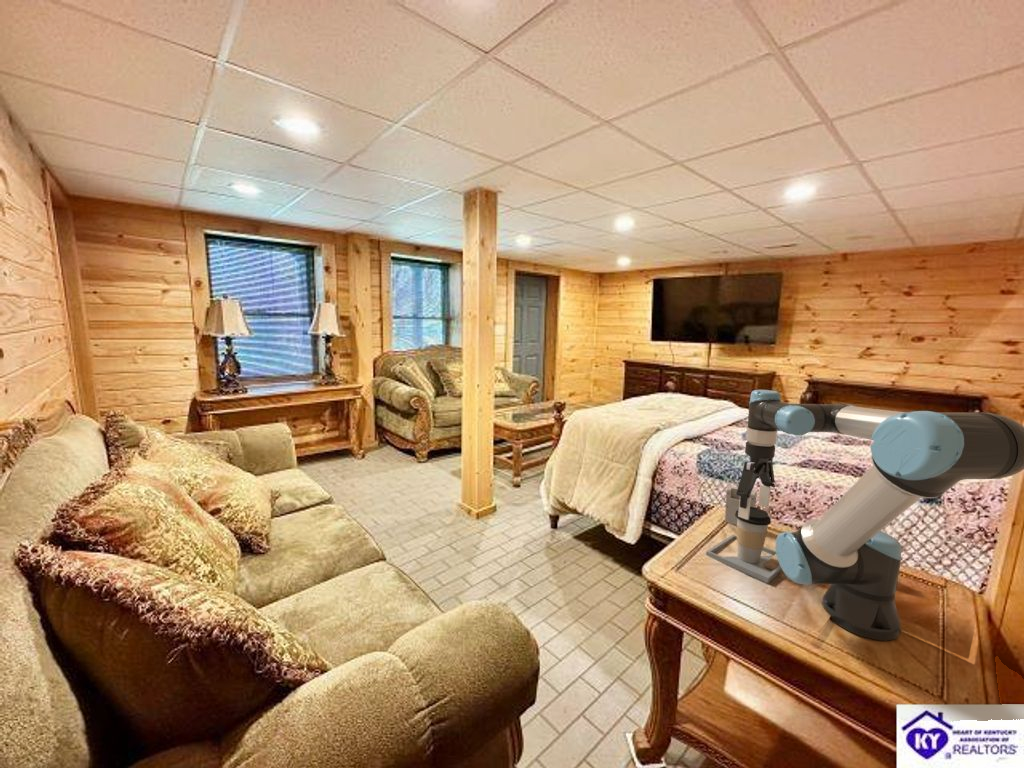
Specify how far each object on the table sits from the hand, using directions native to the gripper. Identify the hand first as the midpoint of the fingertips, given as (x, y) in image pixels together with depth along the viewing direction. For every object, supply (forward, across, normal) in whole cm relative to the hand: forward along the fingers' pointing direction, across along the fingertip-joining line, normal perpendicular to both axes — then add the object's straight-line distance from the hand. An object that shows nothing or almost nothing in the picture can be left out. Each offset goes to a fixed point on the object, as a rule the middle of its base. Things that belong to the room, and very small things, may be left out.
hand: (753, 511), depth 129 cm
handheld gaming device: (+16, -18, -11) cm, 26 cm away
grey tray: (+15, 0, 0) cm, 15 cm away
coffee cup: (+15, 0, 0) cm, 15 cm away
